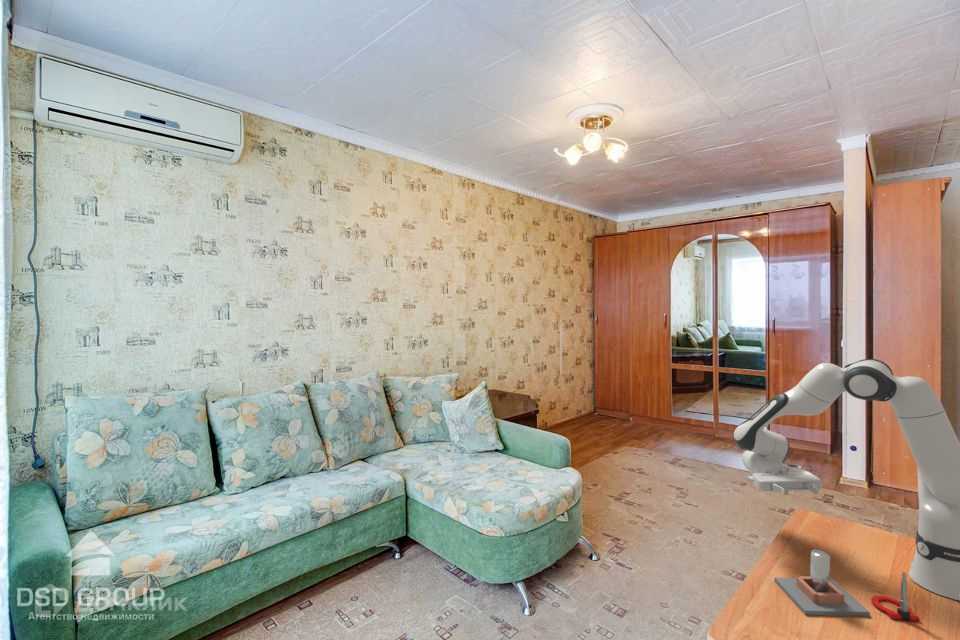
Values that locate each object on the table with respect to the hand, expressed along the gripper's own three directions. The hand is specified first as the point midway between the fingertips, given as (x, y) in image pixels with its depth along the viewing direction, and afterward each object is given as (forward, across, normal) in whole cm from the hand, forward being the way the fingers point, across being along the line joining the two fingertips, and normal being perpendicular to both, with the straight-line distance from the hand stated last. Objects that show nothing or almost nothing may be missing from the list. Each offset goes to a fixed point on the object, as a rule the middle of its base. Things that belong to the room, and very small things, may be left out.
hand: (801, 492), depth 143 cm
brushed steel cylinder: (+16, -5, +23) cm, 28 cm away
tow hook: (+20, +12, +25) cm, 34 cm away
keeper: (+16, -5, +24) cm, 29 cm away
